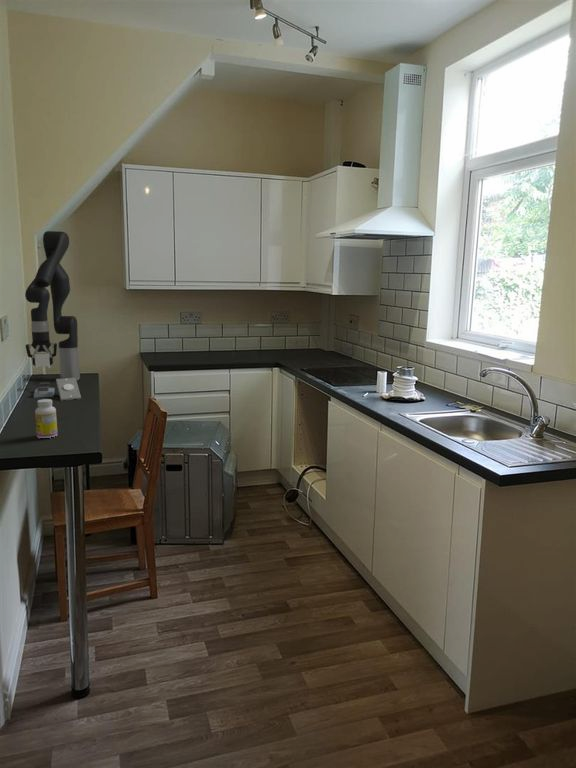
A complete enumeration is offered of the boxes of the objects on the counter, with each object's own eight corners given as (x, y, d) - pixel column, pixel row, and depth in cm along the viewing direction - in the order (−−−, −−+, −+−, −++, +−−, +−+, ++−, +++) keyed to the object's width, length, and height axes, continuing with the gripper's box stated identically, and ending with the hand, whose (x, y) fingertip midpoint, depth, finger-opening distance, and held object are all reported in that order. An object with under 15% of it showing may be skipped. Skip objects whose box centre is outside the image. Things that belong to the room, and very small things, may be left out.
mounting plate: (36, 391, 280) (36, 388, 279) (54, 390, 282) (54, 387, 282) (33, 397, 267) (33, 394, 266) (53, 396, 269) (52, 393, 269)
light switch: (60, 397, 260) (55, 377, 269) (60, 407, 263) (55, 387, 273) (81, 395, 264) (75, 375, 273) (80, 405, 267) (75, 385, 277)
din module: (36, 367, 285) (35, 352, 283) (50, 366, 287) (49, 352, 285) (35, 369, 280) (34, 354, 279) (49, 368, 282) (48, 353, 280)
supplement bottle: (36, 435, 206) (34, 399, 204) (57, 433, 209) (54, 397, 207) (37, 440, 200) (34, 403, 198) (58, 438, 203) (55, 401, 201)
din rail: (40, 388, 280) (39, 382, 279) (50, 387, 281) (49, 382, 281) (38, 394, 267) (37, 388, 267) (48, 393, 268) (48, 387, 268)
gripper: (57, 329, 285) (59, 363, 289) (24, 329, 281) (27, 364, 284) (56, 331, 278) (58, 366, 282) (22, 331, 274) (25, 367, 277)
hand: (42, 365), depth 283 cm, fingers closed on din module, 6 cm apart
